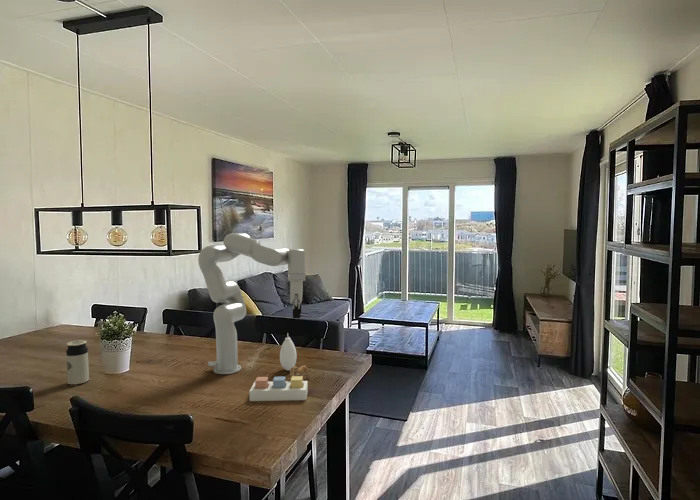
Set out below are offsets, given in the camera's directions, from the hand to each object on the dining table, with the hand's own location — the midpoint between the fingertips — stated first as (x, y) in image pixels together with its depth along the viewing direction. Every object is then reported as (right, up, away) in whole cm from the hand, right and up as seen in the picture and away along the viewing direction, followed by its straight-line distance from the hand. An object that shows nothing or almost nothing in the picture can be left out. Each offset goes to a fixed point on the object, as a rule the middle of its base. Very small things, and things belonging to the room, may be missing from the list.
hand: (297, 315), depth 191 cm
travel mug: (-97, -30, 0) cm, 101 cm away
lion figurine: (+2, -29, -3) cm, 29 cm away
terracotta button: (-12, -27, -17) cm, 34 cm away
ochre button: (+2, -27, -16) cm, 31 cm away
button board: (-5, -30, -16) cm, 34 cm away
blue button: (-5, -27, -16) cm, 32 cm away
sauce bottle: (-6, -28, +15) cm, 32 cm away
